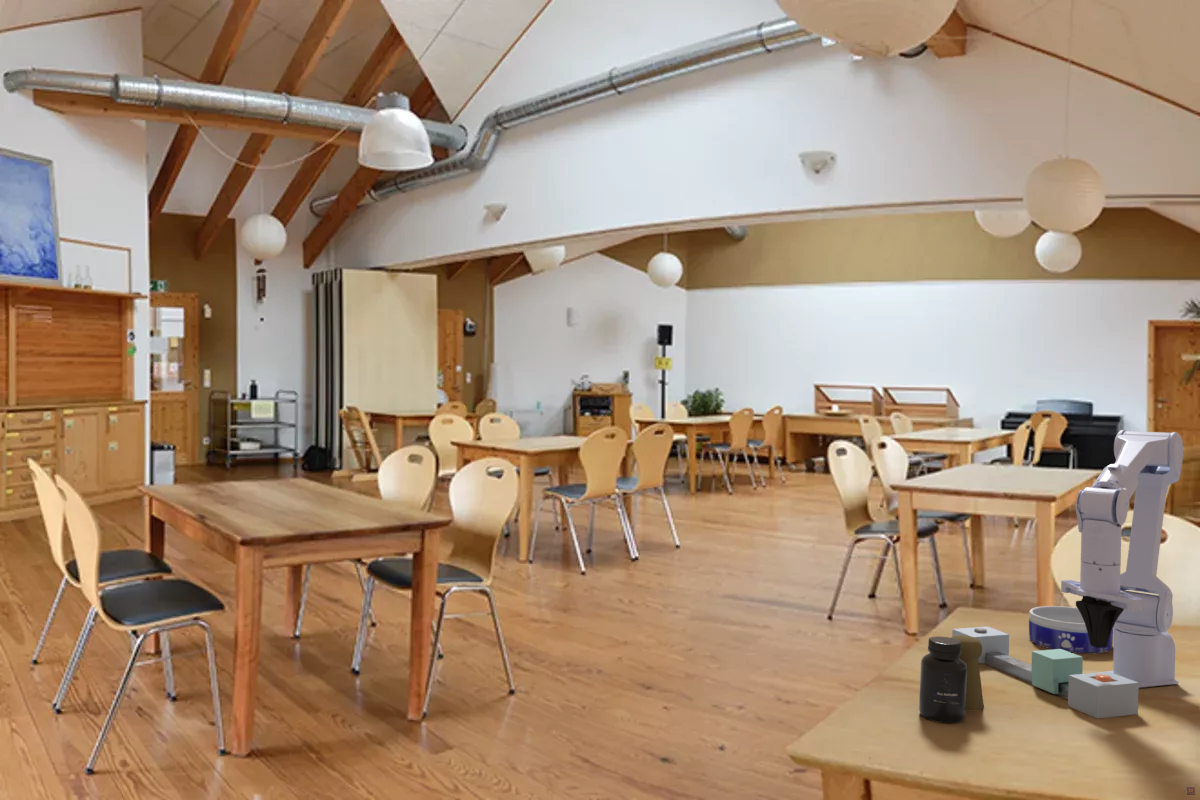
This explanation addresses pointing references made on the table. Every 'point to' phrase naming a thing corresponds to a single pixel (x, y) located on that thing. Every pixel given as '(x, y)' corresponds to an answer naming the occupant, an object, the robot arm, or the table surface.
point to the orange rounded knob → (1103, 678)
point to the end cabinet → (1103, 695)
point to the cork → (972, 671)
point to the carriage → (1054, 668)
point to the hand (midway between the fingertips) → (1098, 646)
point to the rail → (1018, 669)
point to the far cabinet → (987, 640)
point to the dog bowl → (1062, 630)
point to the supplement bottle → (943, 681)
